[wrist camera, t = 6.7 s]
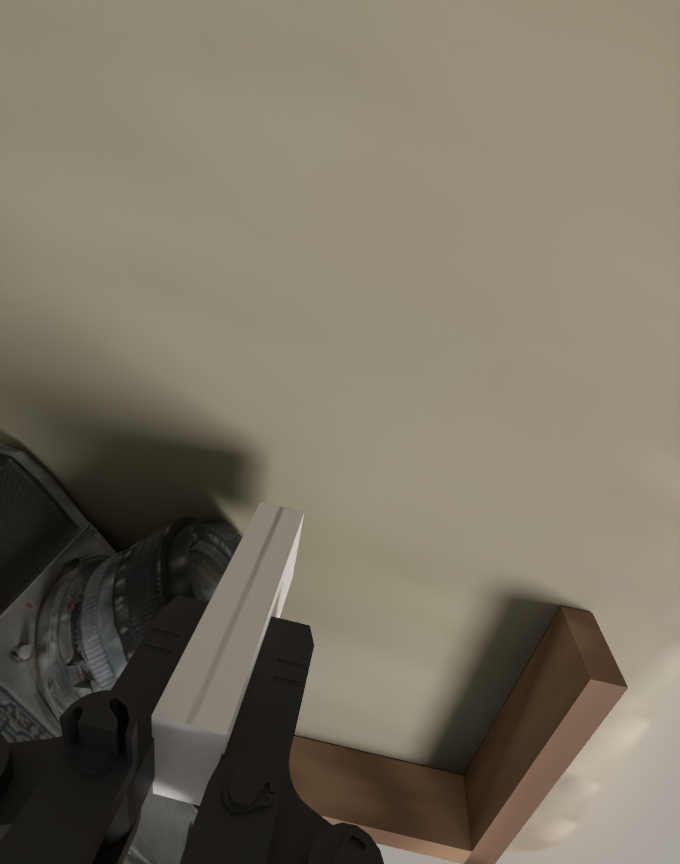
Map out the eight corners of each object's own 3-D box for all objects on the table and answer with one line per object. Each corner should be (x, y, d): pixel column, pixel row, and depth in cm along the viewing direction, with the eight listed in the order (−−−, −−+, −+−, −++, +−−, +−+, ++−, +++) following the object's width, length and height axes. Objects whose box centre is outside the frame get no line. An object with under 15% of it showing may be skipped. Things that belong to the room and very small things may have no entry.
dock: (-3, 680, 24) (-70, 759, 20) (-55, 466, 18) (-163, 526, 14) (479, 793, 23) (492, 894, 20) (592, 613, 17) (640, 712, 14)
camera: (363, 676, 21) (400, 998, 12) (199, 750, 23) (114, 1096, 13) (127, 344, 16) (-157, 463, 6) (-77, 465, 17) (-575, 719, 7)
